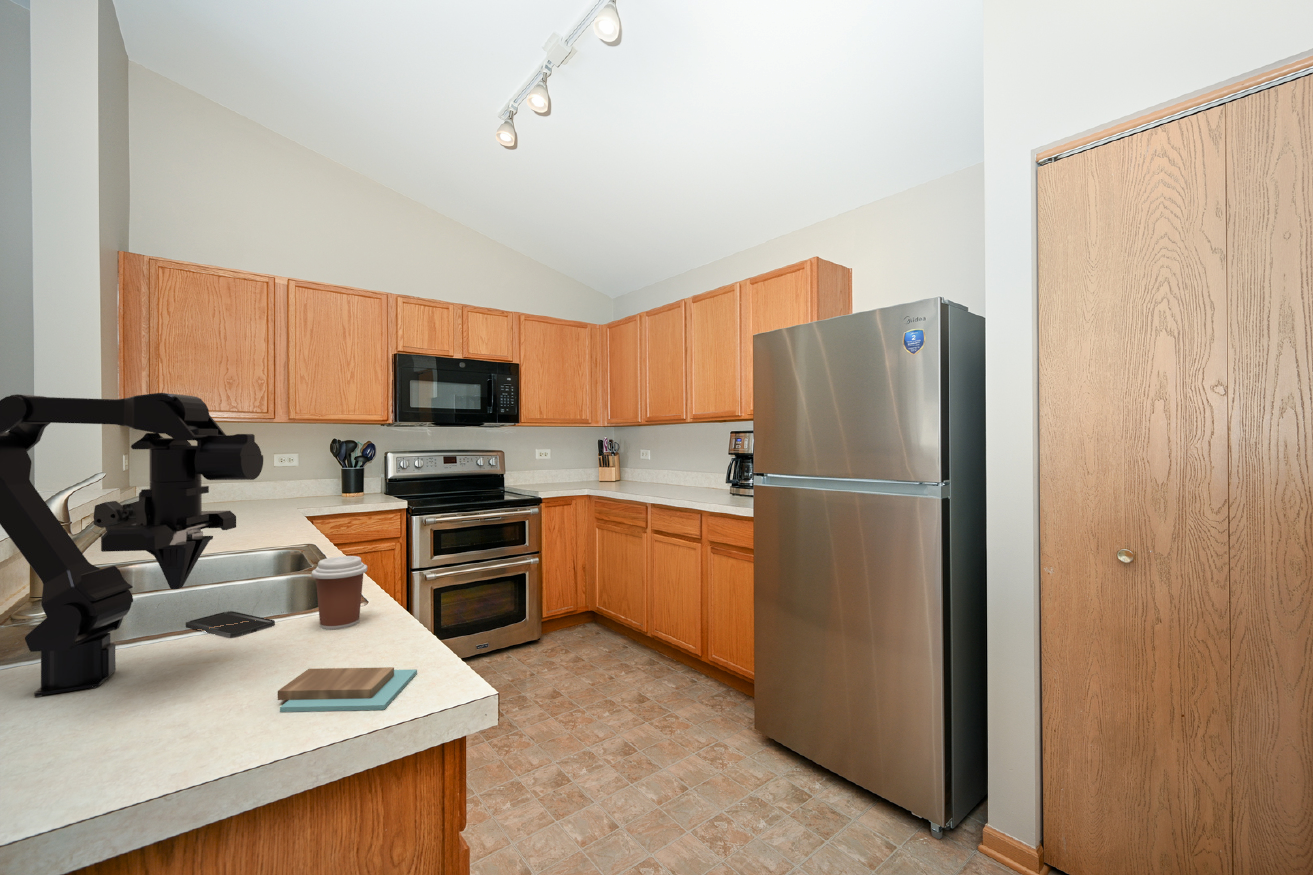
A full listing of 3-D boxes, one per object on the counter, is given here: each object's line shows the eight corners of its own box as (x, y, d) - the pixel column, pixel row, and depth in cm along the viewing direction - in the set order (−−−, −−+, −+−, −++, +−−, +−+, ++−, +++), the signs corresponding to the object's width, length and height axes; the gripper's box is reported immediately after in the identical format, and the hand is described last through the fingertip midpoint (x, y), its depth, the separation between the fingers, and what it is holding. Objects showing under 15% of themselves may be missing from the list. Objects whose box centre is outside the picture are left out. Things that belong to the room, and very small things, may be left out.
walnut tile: (277, 690, 73) (371, 689, 73) (308, 668, 80) (394, 667, 80) (277, 699, 73) (371, 698, 73) (308, 676, 80) (394, 675, 80)
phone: (229, 610, 110) (277, 620, 104) (229, 616, 110) (277, 626, 104) (182, 622, 103) (230, 634, 97) (182, 628, 103) (230, 641, 97)
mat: (279, 711, 71) (279, 707, 71) (327, 674, 82) (327, 670, 82) (384, 709, 72) (384, 705, 72) (417, 673, 83) (417, 669, 83)
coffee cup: (358, 630, 101) (358, 564, 101) (302, 633, 99) (302, 566, 99) (373, 614, 110) (373, 553, 110) (322, 617, 108) (322, 555, 108)
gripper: (161, 476, 89) (161, 574, 89) (52, 487, 70) (52, 611, 70) (238, 475, 90) (238, 572, 91) (151, 486, 72) (151, 607, 72)
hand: (176, 588), depth 81 cm, fingers closed
